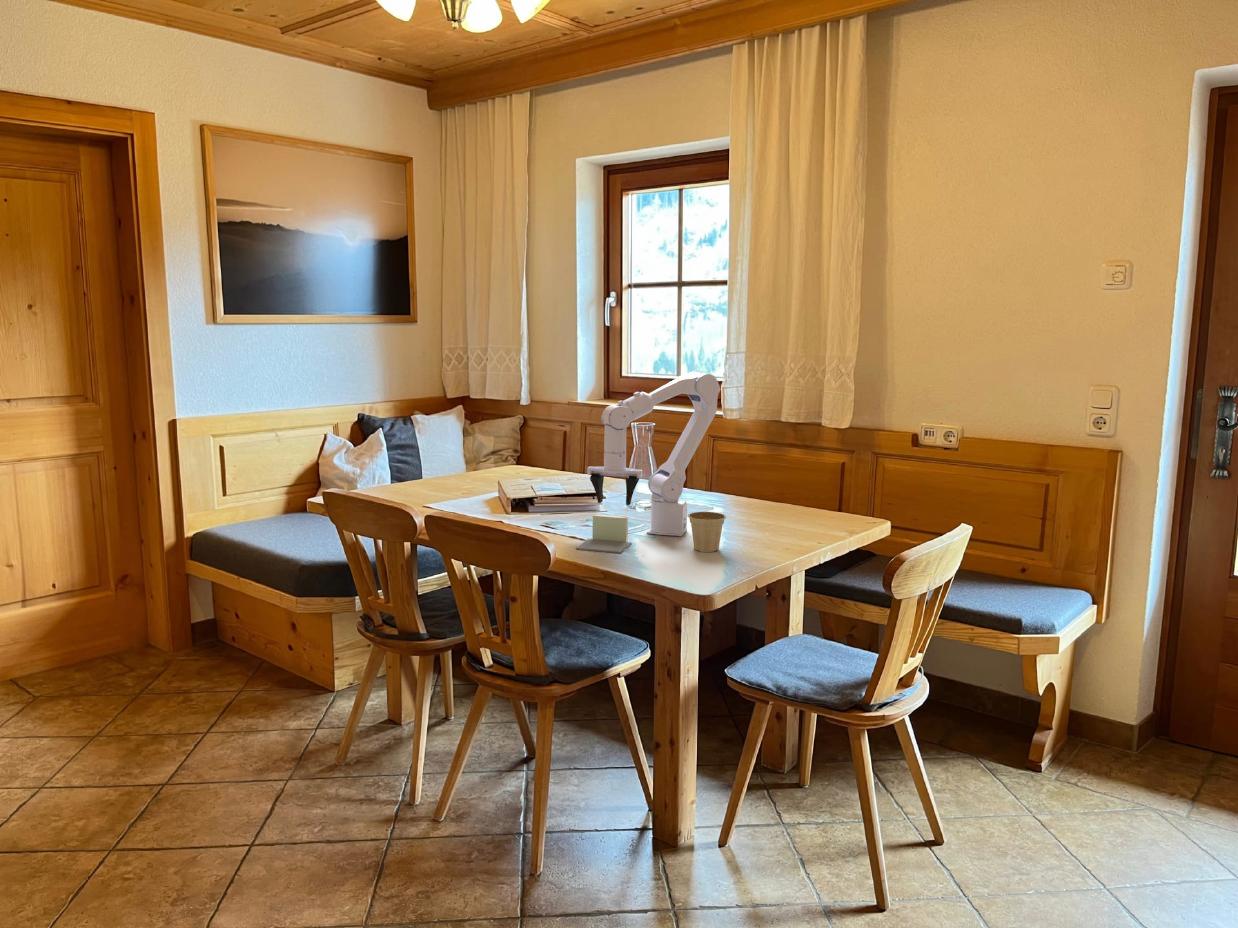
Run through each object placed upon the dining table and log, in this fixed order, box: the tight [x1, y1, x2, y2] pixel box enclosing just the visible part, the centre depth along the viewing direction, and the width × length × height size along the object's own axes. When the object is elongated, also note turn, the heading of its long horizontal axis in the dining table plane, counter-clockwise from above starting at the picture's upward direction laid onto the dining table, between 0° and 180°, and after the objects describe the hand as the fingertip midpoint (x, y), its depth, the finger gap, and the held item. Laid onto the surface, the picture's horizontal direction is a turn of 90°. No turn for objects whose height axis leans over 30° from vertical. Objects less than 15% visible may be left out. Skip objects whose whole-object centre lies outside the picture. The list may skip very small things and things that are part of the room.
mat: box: [575, 538, 632, 554], centre depth 233 cm, size 12×10×1 cm
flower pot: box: [687, 511, 727, 553], centre depth 231 cm, size 9×9×9 cm
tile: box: [591, 514, 629, 542], centre depth 238 cm, size 9×2×6 cm, turn 74°
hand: (614, 503), depth 242 cm, fingers open, 7 cm apart
